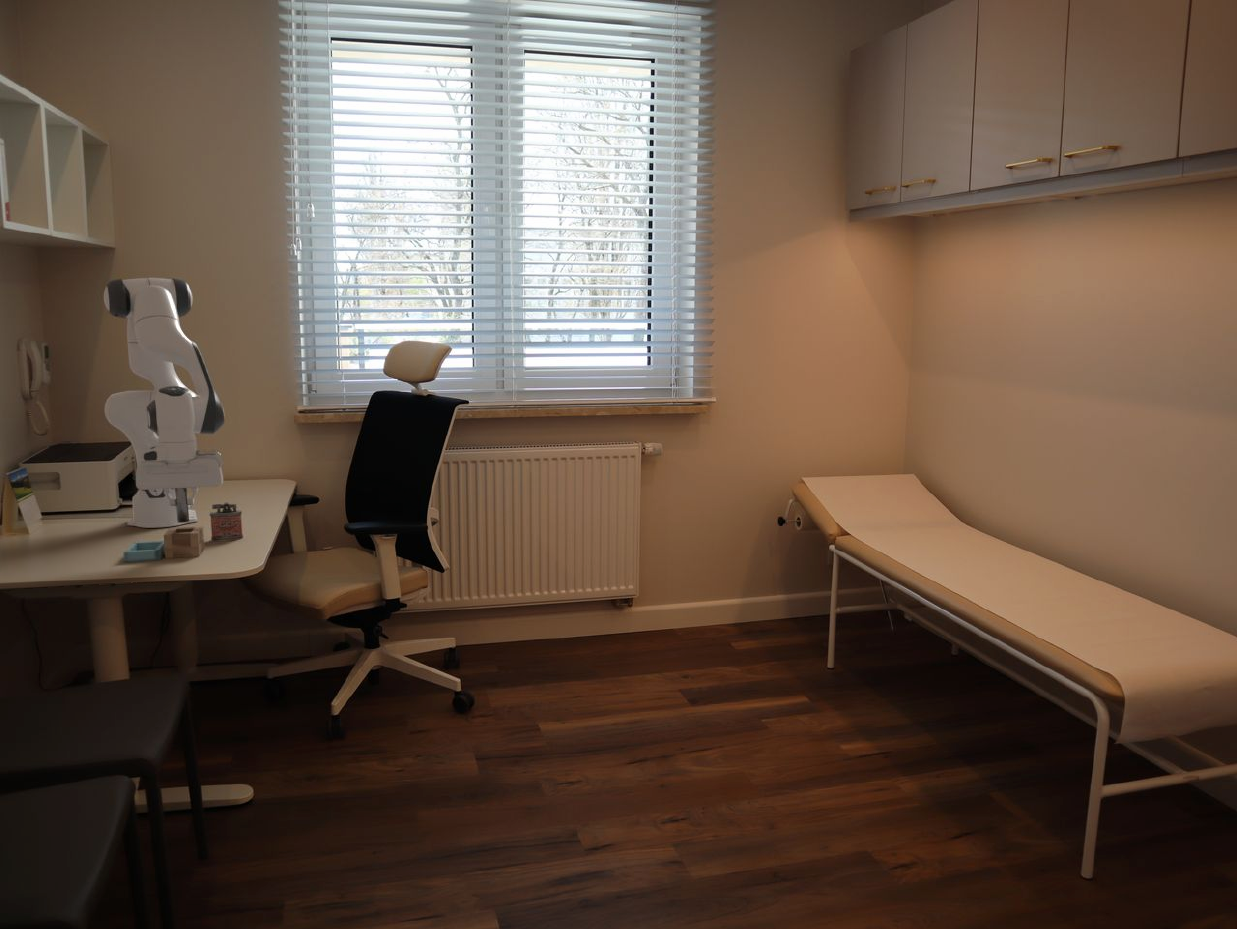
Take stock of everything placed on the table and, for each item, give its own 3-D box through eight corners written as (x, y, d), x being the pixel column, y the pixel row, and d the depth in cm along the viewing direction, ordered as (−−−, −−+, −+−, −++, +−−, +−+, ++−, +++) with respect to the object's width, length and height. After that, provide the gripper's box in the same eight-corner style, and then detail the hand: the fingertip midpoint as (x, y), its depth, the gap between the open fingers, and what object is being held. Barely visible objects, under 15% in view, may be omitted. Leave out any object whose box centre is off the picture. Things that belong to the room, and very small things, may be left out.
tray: (134, 551, 255) (133, 542, 255) (168, 550, 257) (167, 540, 257) (124, 562, 245) (123, 552, 244) (159, 560, 246) (158, 550, 246)
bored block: (171, 550, 256) (169, 528, 255) (204, 549, 258) (203, 526, 257) (165, 558, 249) (163, 534, 248) (199, 556, 251) (197, 533, 250)
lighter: (243, 536, 273) (240, 500, 271) (243, 539, 270) (241, 503, 268) (211, 538, 270) (209, 502, 268) (211, 541, 267) (208, 505, 265)
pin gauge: (178, 520, 254) (175, 478, 252) (190, 519, 254) (187, 477, 252) (176, 522, 251) (173, 480, 249) (188, 522, 251) (185, 479, 250)
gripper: (223, 448, 255) (227, 500, 257) (137, 451, 250) (141, 504, 253) (220, 452, 249) (223, 505, 251) (132, 454, 244) (136, 509, 246)
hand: (182, 505), depth 252 cm, fingers closed on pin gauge, 3 cm apart
